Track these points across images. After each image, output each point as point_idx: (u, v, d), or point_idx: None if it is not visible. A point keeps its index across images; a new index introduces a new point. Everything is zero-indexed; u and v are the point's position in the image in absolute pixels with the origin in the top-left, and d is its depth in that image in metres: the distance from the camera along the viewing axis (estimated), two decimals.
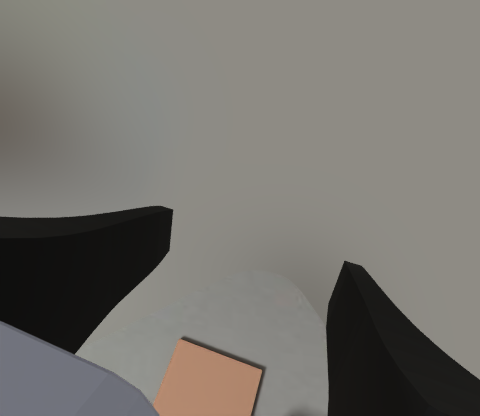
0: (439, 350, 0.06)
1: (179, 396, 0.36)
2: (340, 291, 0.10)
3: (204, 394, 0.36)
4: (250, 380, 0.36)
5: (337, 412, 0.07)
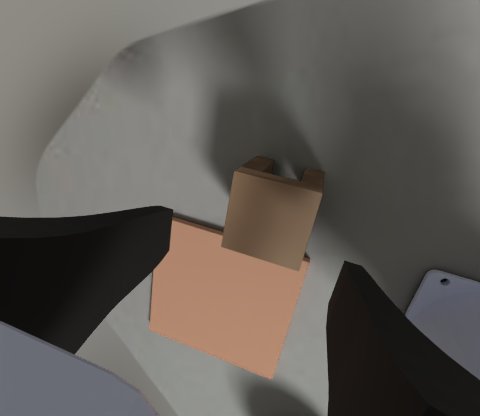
0: (439, 350, 0.06)
1: (212, 330, 0.24)
2: (340, 291, 0.10)
3: (204, 298, 0.23)
4: (174, 234, 0.22)
5: (337, 412, 0.07)
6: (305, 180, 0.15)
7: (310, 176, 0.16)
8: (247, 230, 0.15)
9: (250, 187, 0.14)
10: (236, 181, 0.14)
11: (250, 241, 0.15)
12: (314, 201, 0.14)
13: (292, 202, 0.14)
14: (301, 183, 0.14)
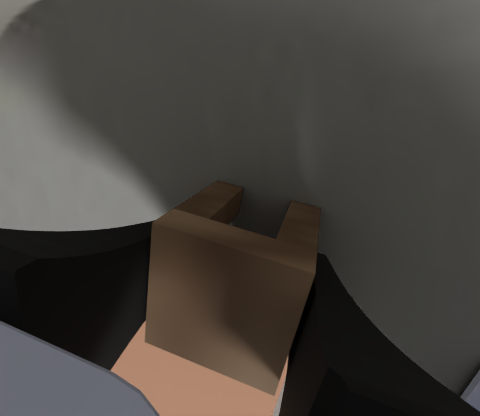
0: (374, 328, 0.06)
1: (168, 412, 0.18)
2: None
3: (155, 371, 0.17)
4: None
5: (287, 392, 0.07)
6: (285, 234, 0.08)
7: (296, 221, 0.10)
8: (183, 322, 0.09)
9: (182, 252, 0.08)
10: (157, 241, 0.08)
11: (190, 339, 0.09)
12: (299, 286, 0.07)
13: (259, 284, 0.07)
14: (276, 245, 0.08)
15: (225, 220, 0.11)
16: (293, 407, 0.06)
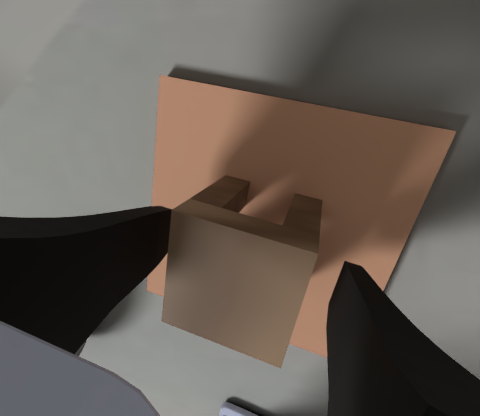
0: (439, 350, 0.06)
1: None
2: (340, 291, 0.10)
3: (263, 210, 0.13)
4: (405, 167, 0.11)
5: (337, 412, 0.07)
6: (291, 222, 0.09)
7: (300, 211, 0.10)
8: (198, 301, 0.09)
9: (198, 237, 0.09)
10: (176, 226, 0.09)
11: (204, 317, 0.10)
12: (303, 265, 0.08)
13: (268, 264, 0.08)
14: (283, 230, 0.09)
15: (234, 211, 0.11)
16: None
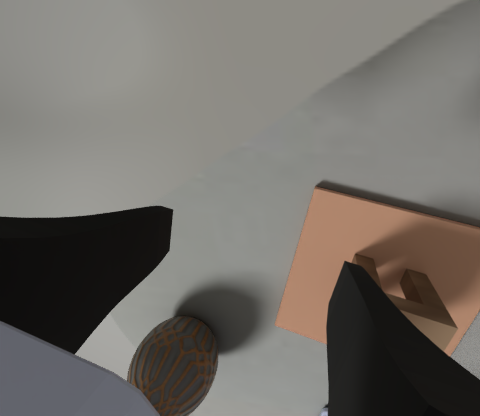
0: (439, 350, 0.06)
1: (330, 277, 0.20)
2: (340, 291, 0.10)
3: (380, 277, 0.19)
4: None
5: (337, 412, 0.07)
6: (426, 300, 0.15)
7: (422, 289, 0.16)
8: None
9: None
10: None
11: None
12: (447, 334, 0.14)
13: (423, 331, 0.14)
14: (428, 309, 0.15)
15: None
16: None
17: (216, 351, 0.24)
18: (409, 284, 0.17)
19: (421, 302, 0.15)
